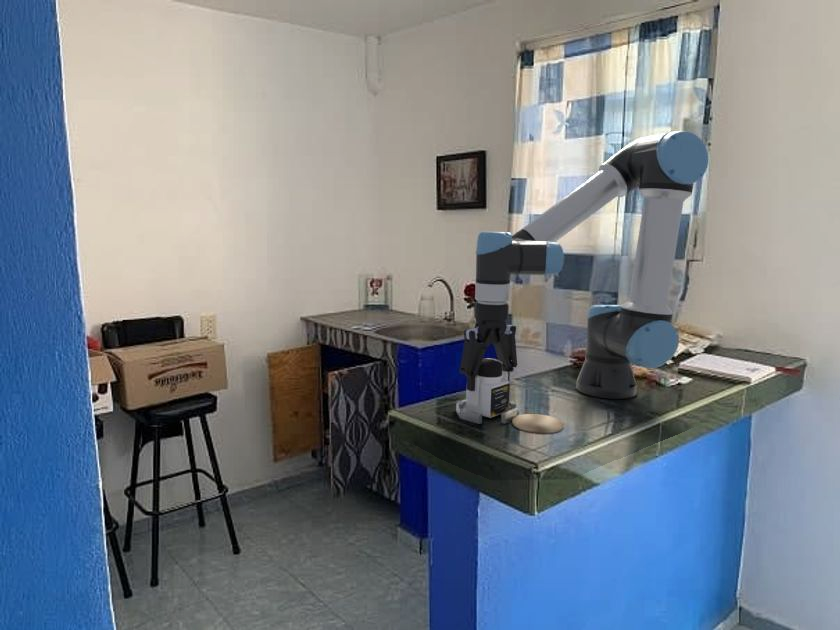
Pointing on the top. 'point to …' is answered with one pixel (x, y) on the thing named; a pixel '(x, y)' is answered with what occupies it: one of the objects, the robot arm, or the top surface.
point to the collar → (477, 417)
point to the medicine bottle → (491, 390)
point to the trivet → (537, 423)
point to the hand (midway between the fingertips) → (487, 401)
